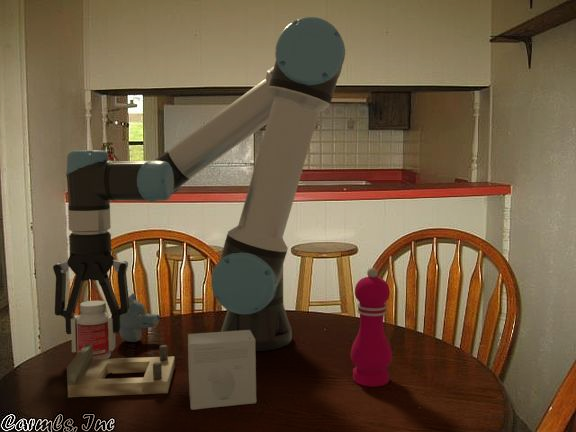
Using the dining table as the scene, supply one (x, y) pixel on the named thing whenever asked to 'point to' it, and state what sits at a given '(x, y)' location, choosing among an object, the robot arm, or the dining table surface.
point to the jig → (91, 372)
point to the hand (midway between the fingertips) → (94, 349)
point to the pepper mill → (371, 332)
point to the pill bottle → (93, 328)
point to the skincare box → (221, 369)
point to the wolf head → (136, 321)
